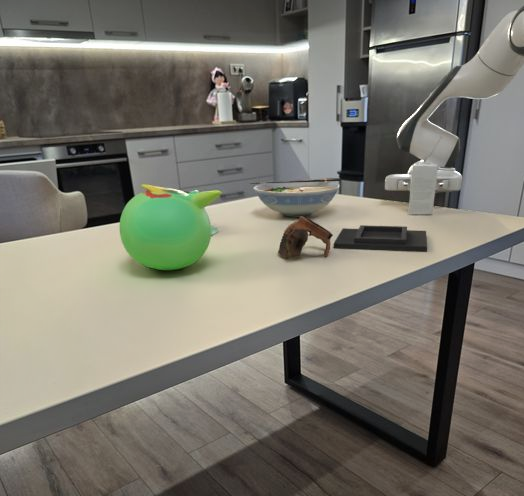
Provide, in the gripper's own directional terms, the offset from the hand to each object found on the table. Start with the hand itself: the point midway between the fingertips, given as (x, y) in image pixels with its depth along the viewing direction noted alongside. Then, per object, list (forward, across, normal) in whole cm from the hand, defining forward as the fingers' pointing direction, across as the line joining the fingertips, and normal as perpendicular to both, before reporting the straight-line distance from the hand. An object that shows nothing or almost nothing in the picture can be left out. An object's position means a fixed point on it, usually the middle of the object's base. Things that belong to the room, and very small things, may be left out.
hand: (422, 186), depth 127 cm
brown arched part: (+50, -22, +7) cm, 55 cm away
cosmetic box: (+4, 0, +6) cm, 8 cm away
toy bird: (+61, -44, +6) cm, 76 cm away
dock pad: (+36, -8, +6) cm, 37 cm away
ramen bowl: (+9, -32, +6) cm, 34 cm away
